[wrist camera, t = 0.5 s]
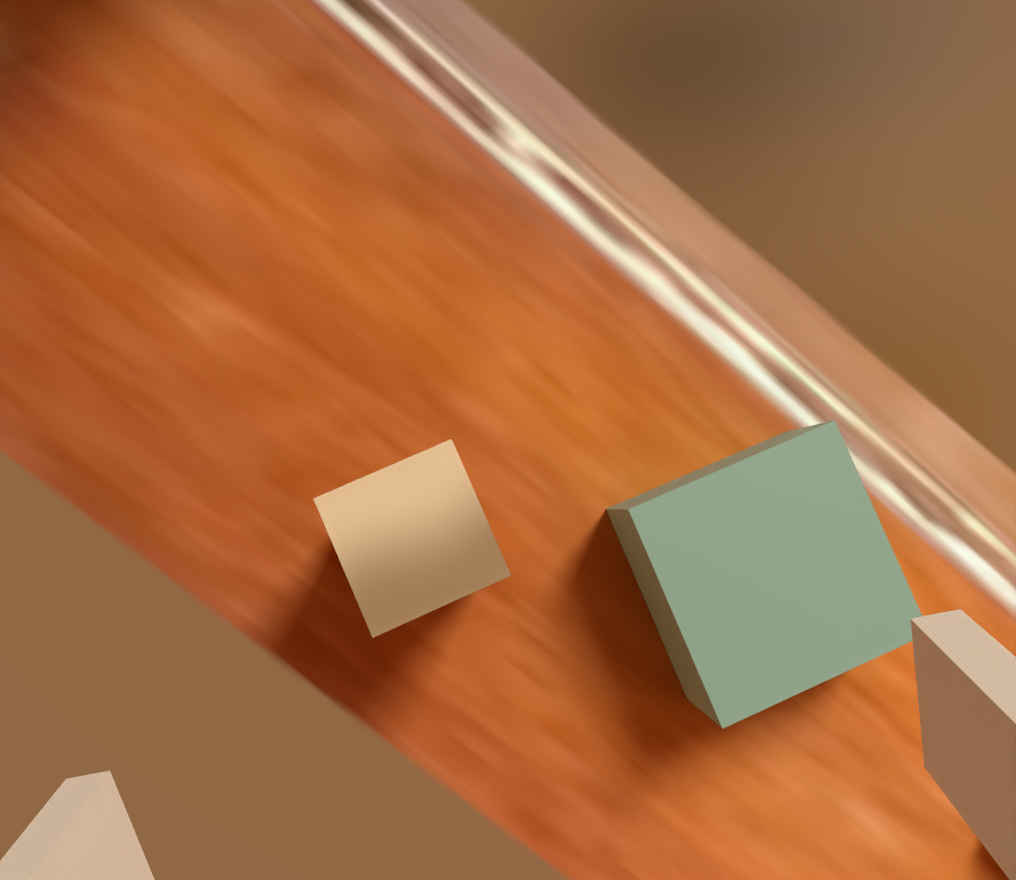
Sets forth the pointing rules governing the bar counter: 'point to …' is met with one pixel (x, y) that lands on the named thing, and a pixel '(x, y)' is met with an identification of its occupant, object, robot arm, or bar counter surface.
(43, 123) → the bar counter surface
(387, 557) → the block
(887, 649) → the green square block
